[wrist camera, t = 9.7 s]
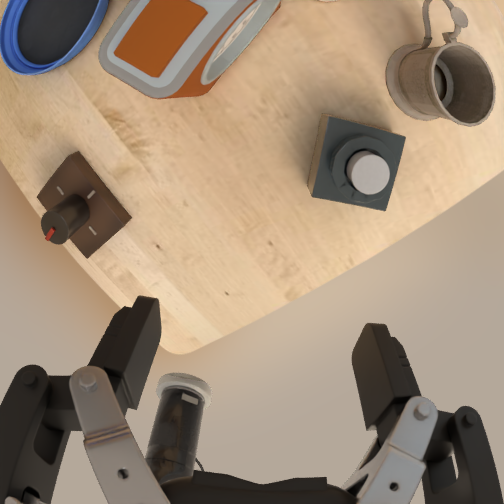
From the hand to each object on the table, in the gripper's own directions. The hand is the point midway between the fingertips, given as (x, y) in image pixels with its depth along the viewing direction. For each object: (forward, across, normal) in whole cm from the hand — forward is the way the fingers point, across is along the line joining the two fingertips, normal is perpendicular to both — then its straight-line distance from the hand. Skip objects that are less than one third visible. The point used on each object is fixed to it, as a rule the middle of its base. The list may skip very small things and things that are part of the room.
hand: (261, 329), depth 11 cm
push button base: (+27, -10, -2) cm, 29 cm away
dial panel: (+26, +24, +8) cm, 36 cm away
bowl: (+27, +30, -20) cm, 45 cm away
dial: (+24, +24, +8) cm, 35 cm away
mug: (+27, -16, -16) cm, 36 cm away
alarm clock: (+27, +8, -14) cm, 32 cm away
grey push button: (+21, -10, -2) cm, 24 cm away
